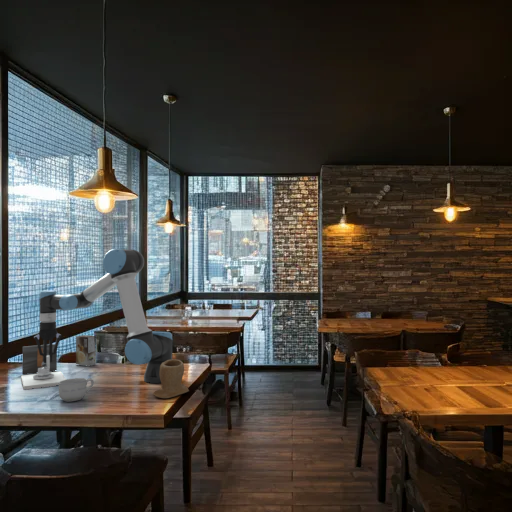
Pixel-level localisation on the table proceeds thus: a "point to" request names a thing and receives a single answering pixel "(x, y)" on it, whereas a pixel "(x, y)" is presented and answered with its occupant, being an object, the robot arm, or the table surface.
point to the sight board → (36, 359)
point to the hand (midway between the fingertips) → (47, 368)
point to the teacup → (74, 389)
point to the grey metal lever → (43, 372)
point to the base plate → (41, 380)
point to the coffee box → (86, 350)
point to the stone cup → (171, 379)
